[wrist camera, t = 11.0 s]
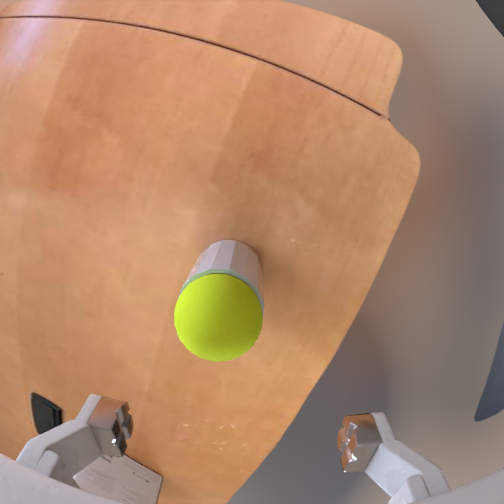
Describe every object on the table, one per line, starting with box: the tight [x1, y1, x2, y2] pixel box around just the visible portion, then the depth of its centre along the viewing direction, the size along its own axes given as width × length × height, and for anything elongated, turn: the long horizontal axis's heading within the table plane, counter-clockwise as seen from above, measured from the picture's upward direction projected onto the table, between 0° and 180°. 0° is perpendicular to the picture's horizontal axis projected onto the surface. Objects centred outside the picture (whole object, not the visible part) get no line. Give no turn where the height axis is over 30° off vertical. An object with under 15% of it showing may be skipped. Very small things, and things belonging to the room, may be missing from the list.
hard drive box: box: [73, 454, 163, 504], centre depth 34 cm, size 16×8×20 cm, turn 46°
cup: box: [178, 240, 264, 314], centre depth 29 cm, size 7×7×9 cm
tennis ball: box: [174, 274, 263, 361], centre depth 23 cm, size 7×7×7 cm
